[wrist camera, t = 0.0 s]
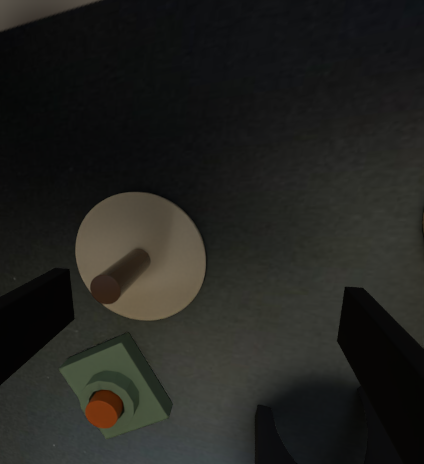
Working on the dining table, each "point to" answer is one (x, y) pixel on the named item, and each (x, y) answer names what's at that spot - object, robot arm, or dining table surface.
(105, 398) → the button
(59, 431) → the dining table surface
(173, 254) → the lid
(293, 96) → the dining table surface
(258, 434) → the planter
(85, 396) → the block
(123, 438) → the dining table surface
